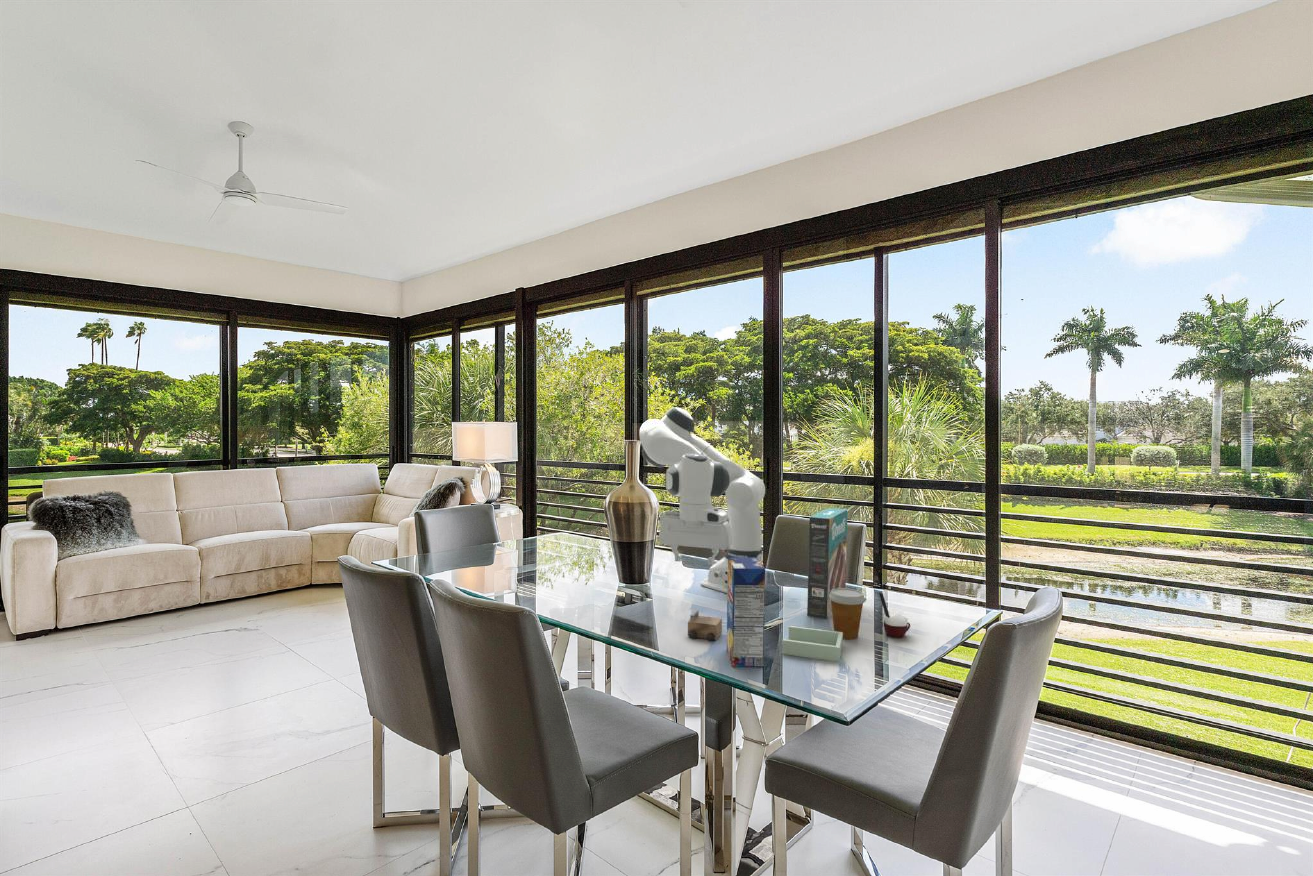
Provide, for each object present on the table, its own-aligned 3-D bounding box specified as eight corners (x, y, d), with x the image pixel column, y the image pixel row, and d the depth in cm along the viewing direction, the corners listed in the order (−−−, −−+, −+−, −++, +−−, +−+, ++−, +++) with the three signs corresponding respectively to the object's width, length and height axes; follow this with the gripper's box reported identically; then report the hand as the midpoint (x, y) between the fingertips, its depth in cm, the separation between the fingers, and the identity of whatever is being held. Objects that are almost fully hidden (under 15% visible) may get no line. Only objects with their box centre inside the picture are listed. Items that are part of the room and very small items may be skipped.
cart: (686, 637, 176) (687, 616, 176) (694, 628, 184) (695, 608, 183) (715, 641, 174) (715, 620, 174) (722, 632, 181) (722, 611, 181)
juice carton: (726, 649, 168) (728, 557, 167) (755, 649, 168) (757, 557, 167) (732, 667, 156) (734, 568, 155) (763, 668, 156) (765, 568, 155)
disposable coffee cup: (821, 632, 182) (822, 589, 182) (848, 627, 186) (849, 586, 186) (843, 643, 174) (844, 598, 173) (871, 638, 177) (872, 595, 177)
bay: (782, 653, 166) (782, 640, 166) (789, 638, 177) (789, 625, 177) (839, 661, 161) (839, 647, 161) (842, 645, 172) (842, 632, 172)
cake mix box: (827, 619, 194) (829, 518, 193) (807, 615, 197) (809, 516, 196) (845, 600, 213) (847, 509, 212) (826, 597, 216) (829, 507, 215)
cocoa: (908, 634, 183) (911, 591, 183) (913, 641, 177) (916, 597, 176) (873, 630, 184) (876, 588, 184) (877, 637, 178) (880, 593, 178)
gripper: (655, 511, 180) (655, 561, 180) (728, 517, 172) (727, 568, 173) (663, 508, 185) (663, 556, 186) (734, 513, 178) (733, 563, 179)
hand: (694, 562), depth 179 cm, fingers open, 8 cm apart
